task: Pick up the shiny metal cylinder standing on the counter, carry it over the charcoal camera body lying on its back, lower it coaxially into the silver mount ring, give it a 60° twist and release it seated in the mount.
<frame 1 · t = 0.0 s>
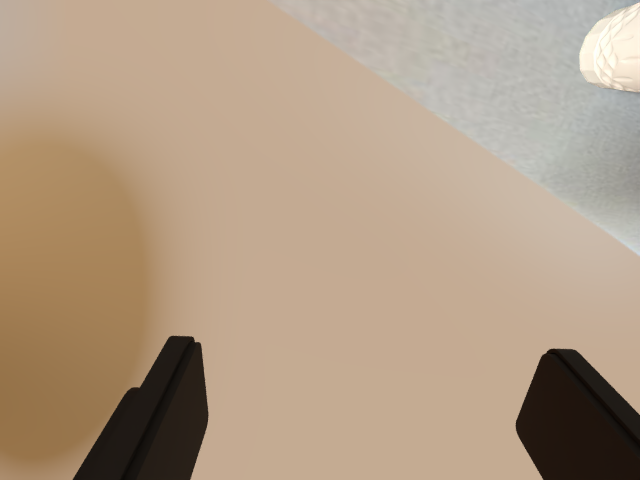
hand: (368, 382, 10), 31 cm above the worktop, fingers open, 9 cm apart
white cup: (611, 50, 35), on the worktop
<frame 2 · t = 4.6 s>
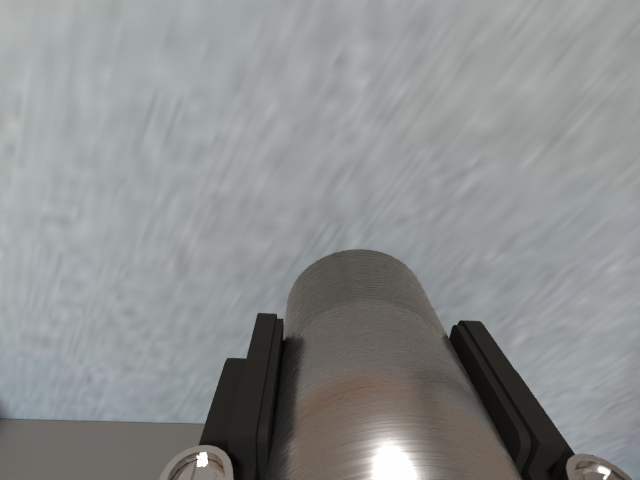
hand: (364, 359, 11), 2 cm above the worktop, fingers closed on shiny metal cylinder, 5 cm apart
shiny metal cylinder: (355, 311, 13), on the worktop, touching gripper
when the fingers open (9 cm above the worktop, at t = 10.5 s): shiny metal cylinder stays where it is, resting on camera body.
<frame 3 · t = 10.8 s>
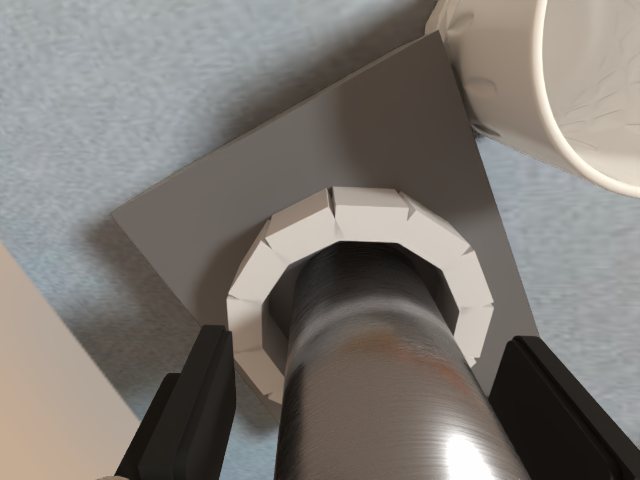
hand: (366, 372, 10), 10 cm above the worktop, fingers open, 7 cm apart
white cup: (493, 47, 16), on the worktop
shiny metal cylinder: (357, 298, 14), point 6 cm above the worktop, touching camera body
camera body: (357, 264, 20), on the worktop
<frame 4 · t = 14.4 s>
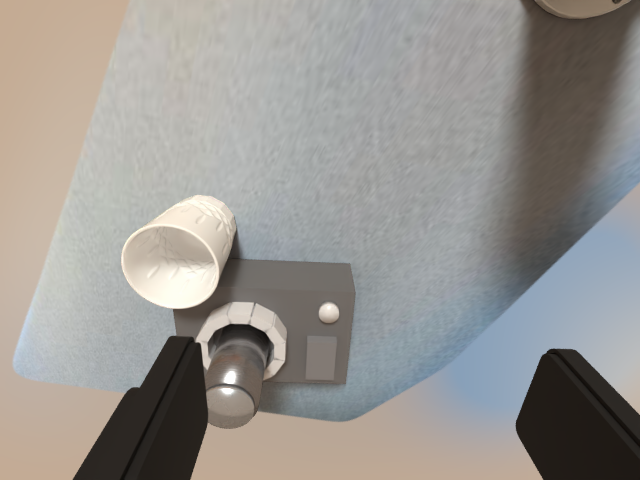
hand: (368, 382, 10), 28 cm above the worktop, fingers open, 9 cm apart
white cup: (205, 223, 38), on the worktop
shiny metal cylinder: (246, 336, 37), point 6 cm above the worktop, touching camera body
camera body: (270, 305, 42), on the worktop
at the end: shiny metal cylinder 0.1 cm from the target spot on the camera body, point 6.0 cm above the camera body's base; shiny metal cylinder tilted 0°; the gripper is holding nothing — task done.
